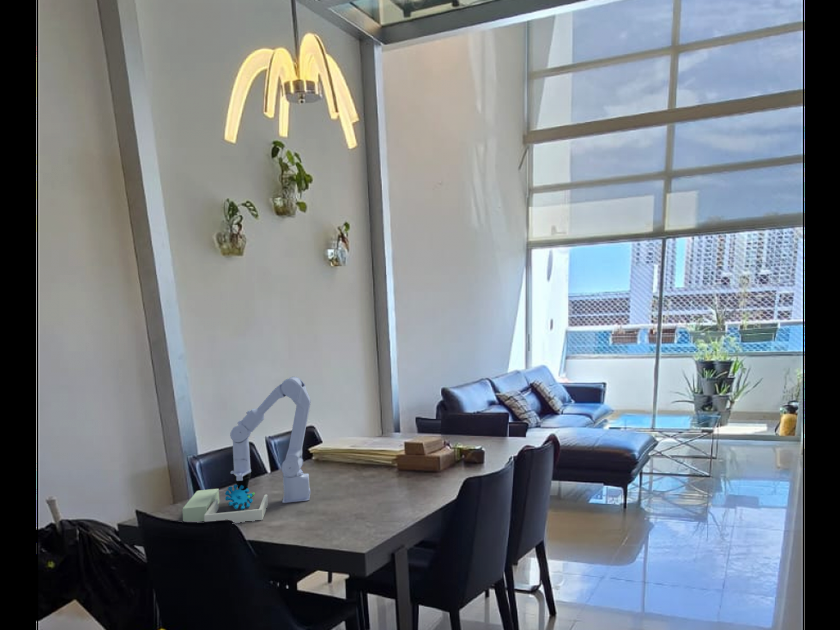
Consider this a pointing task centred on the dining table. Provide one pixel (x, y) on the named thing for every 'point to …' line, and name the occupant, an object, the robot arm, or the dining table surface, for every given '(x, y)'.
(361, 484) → the dining table surface
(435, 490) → the dining table surface
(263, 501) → the shallow white tray
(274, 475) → the dining table surface
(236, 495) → the gear
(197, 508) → the pale green rounded block
